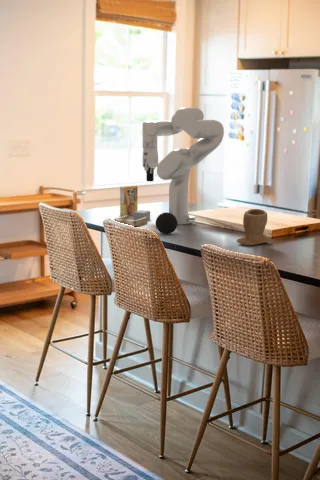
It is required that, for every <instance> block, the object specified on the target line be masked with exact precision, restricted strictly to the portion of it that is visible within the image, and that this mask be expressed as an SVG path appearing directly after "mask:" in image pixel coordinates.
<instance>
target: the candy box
mask: <svg viewBox="0 0 320 480" xmlns="http://www.w3.org/2000/svg"><path fill="white" fill-rule="evenodd" d="M119 192H120V193H119V195H120V196H119V197H120V199H119V201H120V202H119V203H120V205H119V206H120V207H119V208H120V210H119V213H120V214H119V215H120V216H122V215H123V216H127V215H128V216H133V213H134V212H137V211H138V186H137V185H127V186H126V185H125V186H119ZM123 216H122V217H123Z"/></svg>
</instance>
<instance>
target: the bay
mask: <svg viewBox="0 0 320 480" xmlns="http://www.w3.org/2000/svg"><path fill="white" fill-rule="evenodd" d="M128 216H129V215H128ZM128 216H121V217H120V216H119V217H116V218H114V219H113V221H114V220H115V221H117V222H120V223H124V224H128V225H132V226H138V227H140V226H143V225H146V224H148V221H147V217H144V218H141V219H138V220H133V219H129V217H128Z"/></svg>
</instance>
